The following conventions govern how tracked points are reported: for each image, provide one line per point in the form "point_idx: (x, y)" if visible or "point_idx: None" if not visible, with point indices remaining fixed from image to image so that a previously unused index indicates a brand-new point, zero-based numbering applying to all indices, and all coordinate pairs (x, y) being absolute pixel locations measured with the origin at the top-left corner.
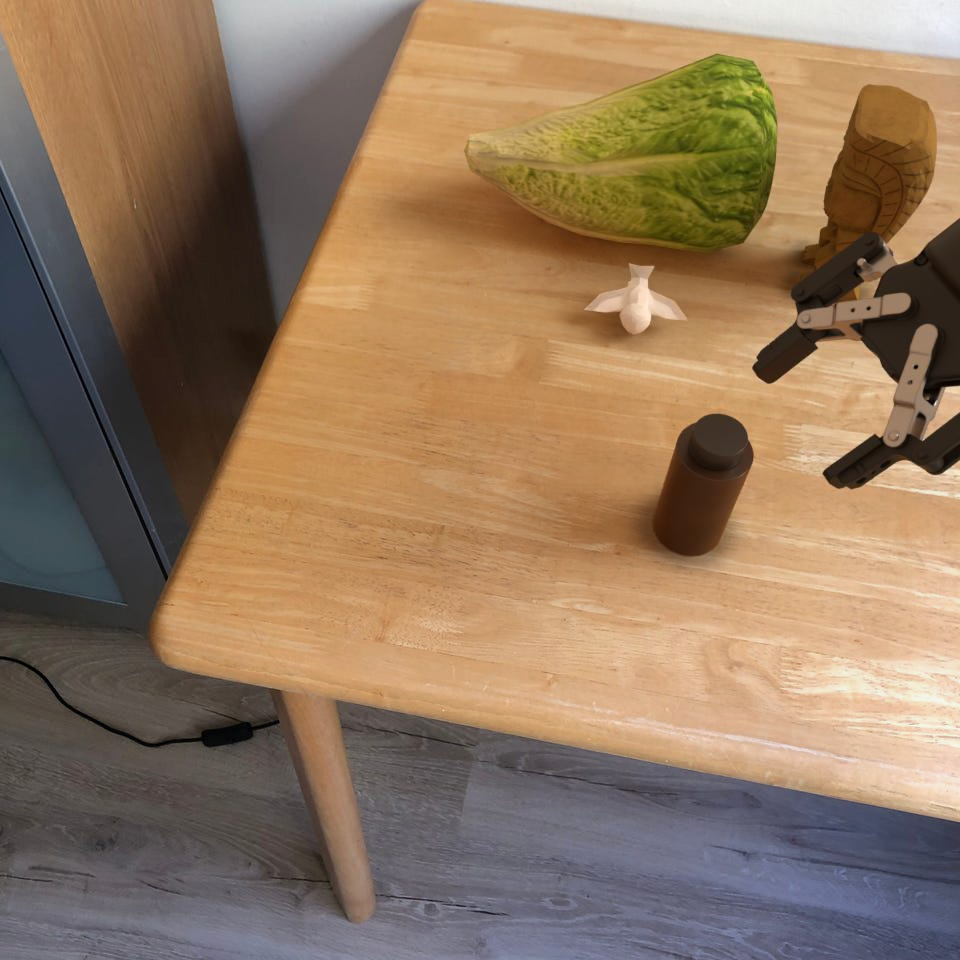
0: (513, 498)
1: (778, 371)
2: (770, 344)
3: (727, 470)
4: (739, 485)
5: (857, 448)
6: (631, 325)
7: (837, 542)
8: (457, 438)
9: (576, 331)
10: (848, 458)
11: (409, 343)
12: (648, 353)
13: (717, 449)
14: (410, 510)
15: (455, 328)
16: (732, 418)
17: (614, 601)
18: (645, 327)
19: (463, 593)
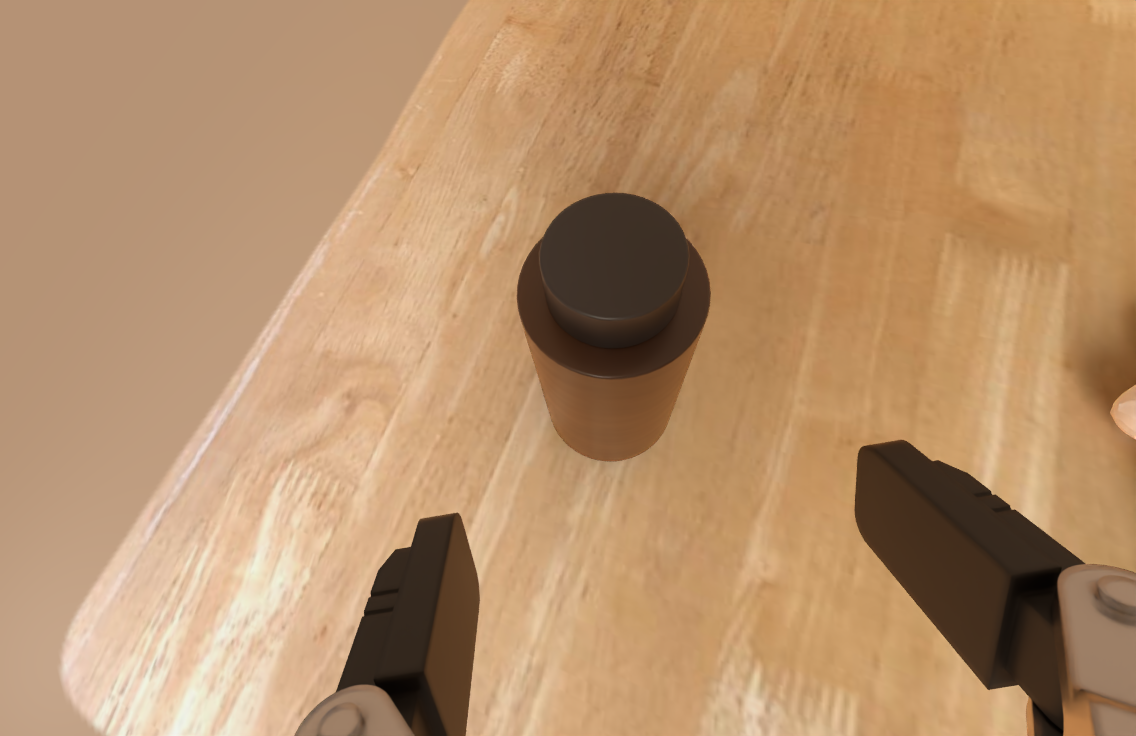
0: (697, 167)
1: (885, 531)
2: (989, 495)
3: (544, 297)
4: (532, 351)
5: (431, 602)
6: (1132, 394)
7: (529, 689)
8: (816, 112)
9: (1102, 317)
10: (427, 570)
11: (1021, 68)
12: (1058, 444)
13: (563, 231)
14: (688, 54)
15: (1071, 129)
16: (665, 294)
17: (497, 264)
18: (1134, 429)
19: (550, 97)
